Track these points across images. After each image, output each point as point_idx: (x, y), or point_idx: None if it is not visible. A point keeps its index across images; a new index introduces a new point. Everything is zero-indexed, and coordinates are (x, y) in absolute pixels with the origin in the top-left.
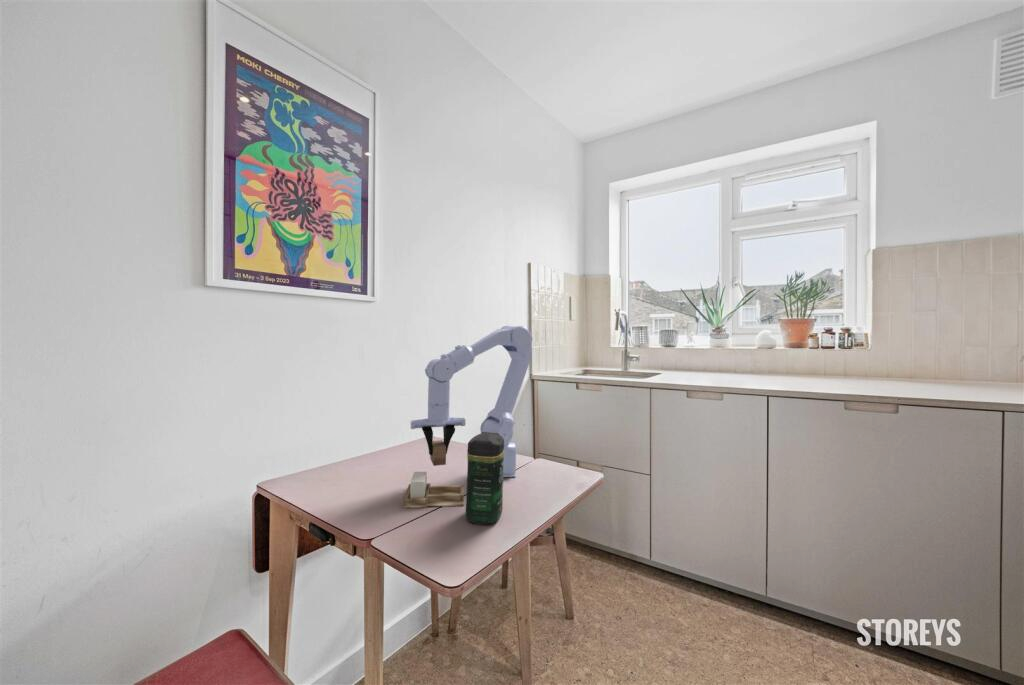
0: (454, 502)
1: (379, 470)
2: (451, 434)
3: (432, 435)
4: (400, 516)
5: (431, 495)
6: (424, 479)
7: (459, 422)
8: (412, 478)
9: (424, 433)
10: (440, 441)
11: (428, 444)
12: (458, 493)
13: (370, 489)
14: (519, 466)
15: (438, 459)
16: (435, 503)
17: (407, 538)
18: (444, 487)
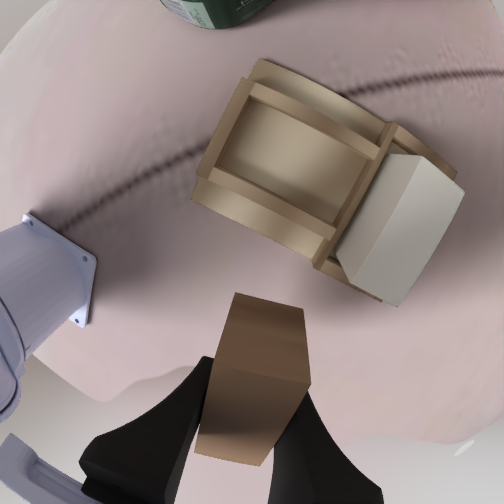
0: (284, 86)
1: (353, 436)
2: (131, 434)
3: (313, 476)
4: (463, 121)
5: (365, 145)
6: (409, 182)
7: (40, 482)
8: (443, 229)
9: (380, 492)
10: (209, 445)
11: (325, 427)
12: (232, 154)
13: (441, 346)
14: None
15: (276, 321)
16: (353, 118)
17: (463, 15)
18: (278, 198)
